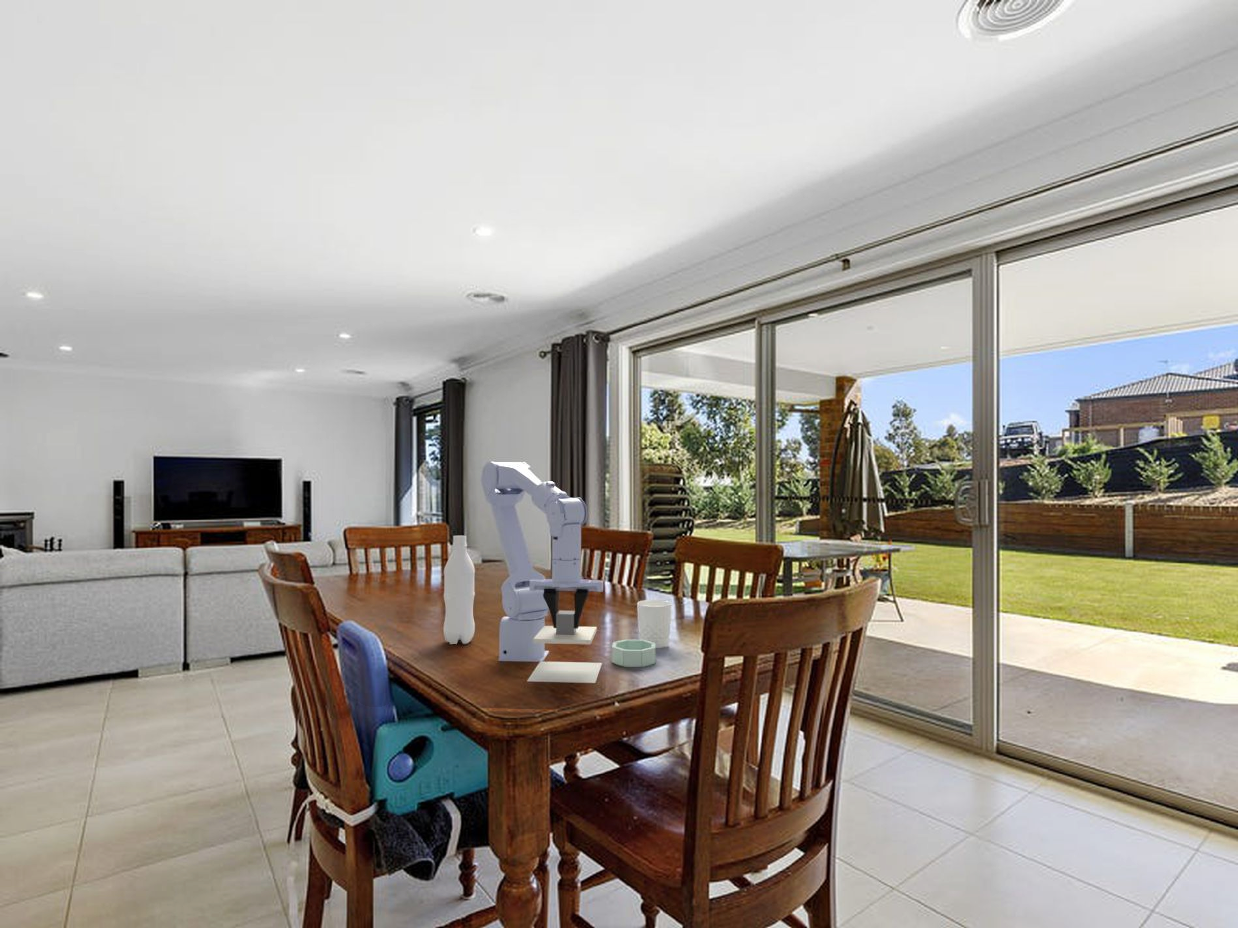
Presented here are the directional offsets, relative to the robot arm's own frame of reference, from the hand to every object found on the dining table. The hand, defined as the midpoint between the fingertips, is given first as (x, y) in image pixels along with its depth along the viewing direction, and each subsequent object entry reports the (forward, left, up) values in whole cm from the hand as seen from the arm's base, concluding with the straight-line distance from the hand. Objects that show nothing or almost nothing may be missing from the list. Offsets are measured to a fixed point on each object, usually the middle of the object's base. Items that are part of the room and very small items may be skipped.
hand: (566, 627), depth 129 cm
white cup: (+17, +22, -10) cm, 30 cm away
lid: (0, 0, -2) cm, 2 cm away
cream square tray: (0, 0, -9) cm, 9 cm away
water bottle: (-29, +22, -10) cm, 38 cm away
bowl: (+13, +8, -9) cm, 18 cm away
